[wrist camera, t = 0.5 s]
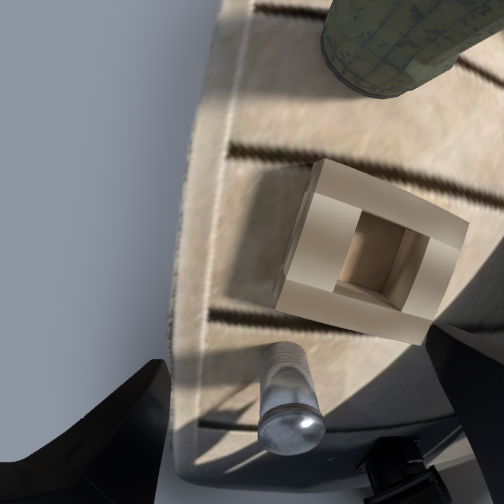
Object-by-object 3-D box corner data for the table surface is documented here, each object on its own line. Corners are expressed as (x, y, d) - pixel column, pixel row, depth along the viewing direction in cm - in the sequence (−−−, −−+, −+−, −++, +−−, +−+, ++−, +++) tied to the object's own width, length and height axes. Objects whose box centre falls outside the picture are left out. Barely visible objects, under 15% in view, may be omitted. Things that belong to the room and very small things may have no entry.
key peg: (297, 384, 25) (309, 458, 16) (253, 373, 25) (249, 449, 16) (315, 346, 24) (337, 418, 15) (268, 334, 24) (270, 407, 15)
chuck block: (400, 324, 23) (420, 345, 19) (272, 289, 23) (274, 310, 19) (441, 216, 21) (469, 222, 17) (313, 163, 21) (325, 158, 17)
